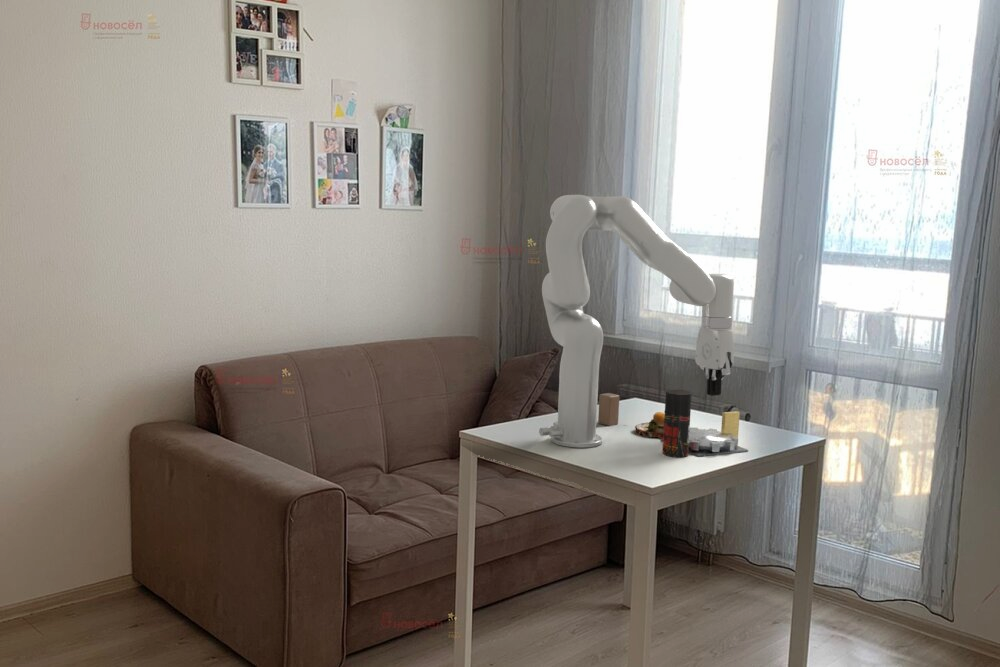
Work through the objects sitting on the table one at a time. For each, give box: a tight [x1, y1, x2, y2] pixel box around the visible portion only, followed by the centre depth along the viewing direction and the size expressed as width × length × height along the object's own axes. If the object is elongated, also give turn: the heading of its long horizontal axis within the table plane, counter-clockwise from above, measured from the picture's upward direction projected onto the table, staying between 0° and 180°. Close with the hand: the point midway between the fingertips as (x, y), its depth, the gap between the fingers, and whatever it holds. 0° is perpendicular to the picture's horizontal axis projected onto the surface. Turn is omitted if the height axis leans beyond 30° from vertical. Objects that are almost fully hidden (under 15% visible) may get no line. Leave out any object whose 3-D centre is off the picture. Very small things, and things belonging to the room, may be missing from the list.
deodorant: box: [661, 389, 693, 459], centre depth 217 cm, size 6×6×15 cm
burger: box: [634, 410, 665, 440], centre depth 238 cm, size 12×12×8 cm
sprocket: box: [688, 410, 741, 452], centre depth 226 cm, size 18×16×7 cm
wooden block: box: [597, 392, 620, 427], centre depth 246 cm, size 4×4×8 cm
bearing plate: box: [660, 439, 749, 458], centre depth 226 cm, size 16×15×1 cm
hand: (713, 394), depth 234 cm, fingers closed
